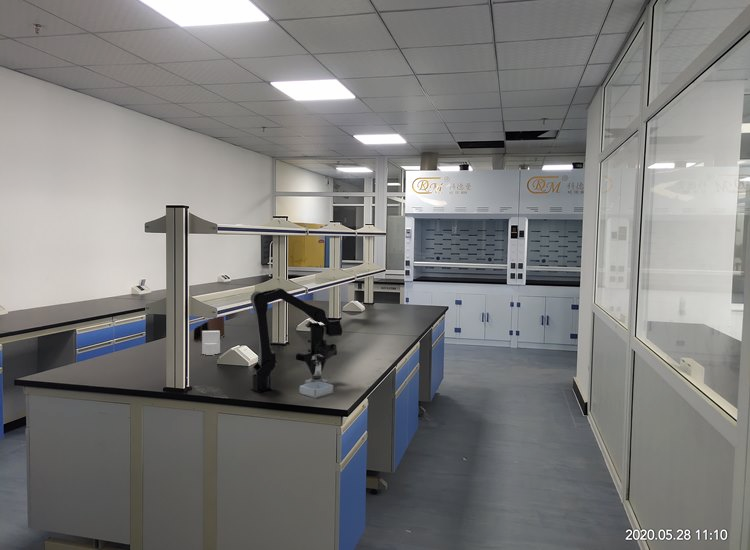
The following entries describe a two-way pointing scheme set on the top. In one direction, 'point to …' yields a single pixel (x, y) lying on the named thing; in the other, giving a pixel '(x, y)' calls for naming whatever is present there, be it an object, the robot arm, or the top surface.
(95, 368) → the top surface
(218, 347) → the cylinder with rectangular tab
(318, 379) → the mount
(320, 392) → the bin
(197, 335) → the letter holder
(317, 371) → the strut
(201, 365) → the top surface
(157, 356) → the top surface
